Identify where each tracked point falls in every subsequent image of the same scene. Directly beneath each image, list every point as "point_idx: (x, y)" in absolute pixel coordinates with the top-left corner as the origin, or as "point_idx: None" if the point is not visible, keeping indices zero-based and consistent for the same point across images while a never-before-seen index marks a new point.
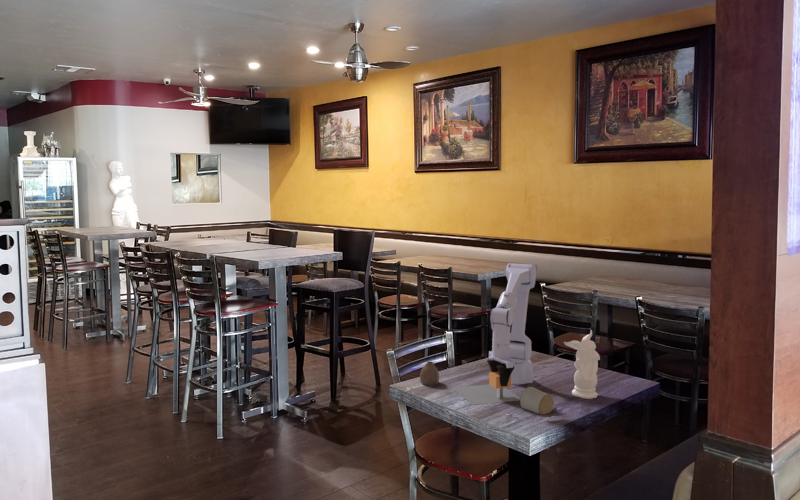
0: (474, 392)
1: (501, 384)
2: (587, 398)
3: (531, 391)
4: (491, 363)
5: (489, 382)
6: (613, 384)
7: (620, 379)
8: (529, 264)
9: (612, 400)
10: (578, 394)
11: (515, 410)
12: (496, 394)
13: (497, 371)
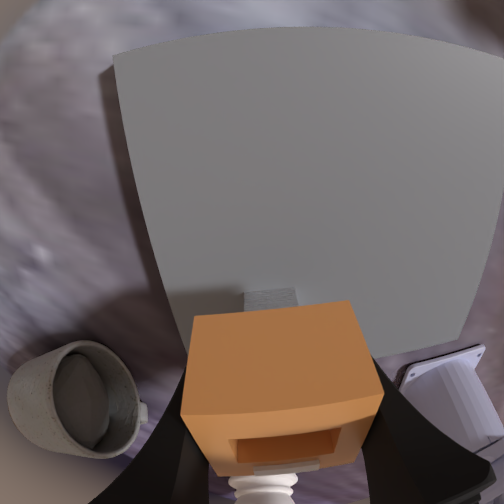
0: (401, 160)
1: (181, 378)
2: (230, 477)
3: (41, 430)
4: (409, 495)
5: (345, 310)
6: (315, 498)
7: (336, 501)
8: None
9: (215, 490)
10: (246, 477)
11: (97, 307)
12: (294, 292)
13: (369, 438)
